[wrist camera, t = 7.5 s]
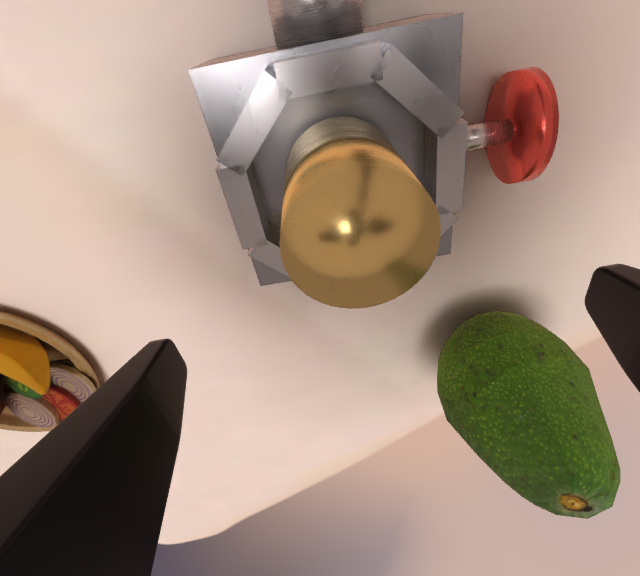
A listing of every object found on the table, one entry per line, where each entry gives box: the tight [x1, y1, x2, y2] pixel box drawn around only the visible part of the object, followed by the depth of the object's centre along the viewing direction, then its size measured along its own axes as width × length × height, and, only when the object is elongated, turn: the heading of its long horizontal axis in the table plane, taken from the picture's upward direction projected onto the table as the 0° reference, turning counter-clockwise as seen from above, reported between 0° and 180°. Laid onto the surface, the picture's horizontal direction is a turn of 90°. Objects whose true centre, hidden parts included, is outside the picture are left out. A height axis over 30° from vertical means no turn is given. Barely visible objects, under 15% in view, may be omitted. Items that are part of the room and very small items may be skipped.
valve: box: [189, 0, 559, 286], centre depth 15 cm, size 13×14×6 cm
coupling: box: [280, 117, 441, 308], centre depth 12 cm, size 4×4×6 cm
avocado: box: [437, 311, 620, 519], centre depth 21 cm, size 8×8×12 cm
